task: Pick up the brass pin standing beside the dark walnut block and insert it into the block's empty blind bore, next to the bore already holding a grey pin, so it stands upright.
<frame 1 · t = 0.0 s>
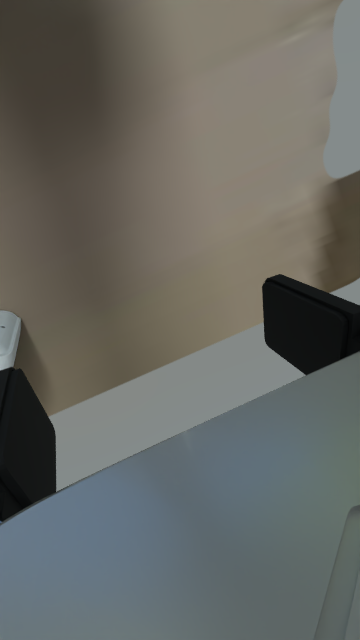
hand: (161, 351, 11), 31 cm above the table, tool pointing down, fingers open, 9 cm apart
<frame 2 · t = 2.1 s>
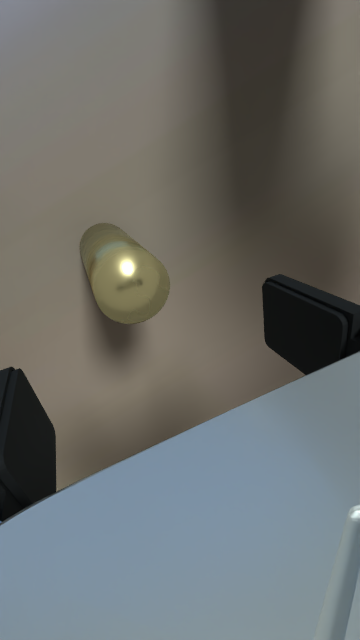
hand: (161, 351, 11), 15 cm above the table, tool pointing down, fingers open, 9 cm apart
brass pin: (105, 249, 24), on the table
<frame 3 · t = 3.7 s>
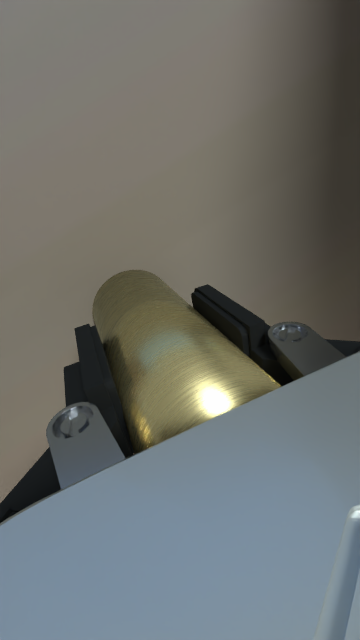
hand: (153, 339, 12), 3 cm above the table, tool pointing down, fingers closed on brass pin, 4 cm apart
brass pin: (134, 309, 15), on the table, touching gripper
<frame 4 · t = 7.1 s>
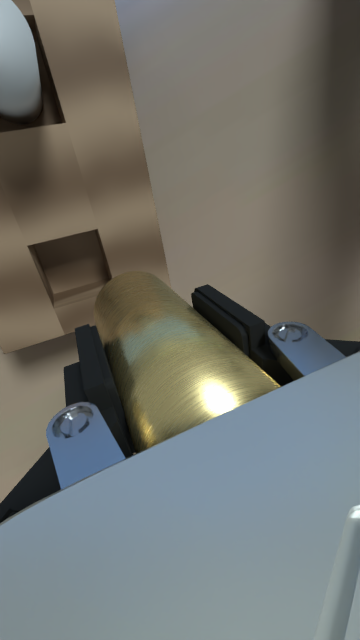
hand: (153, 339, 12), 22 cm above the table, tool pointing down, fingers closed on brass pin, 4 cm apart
brass pin: (135, 310, 15), point 19 cm above the table, touching gripper
bore block: (47, 186, 27), on the table
grey pin: (13, 93, 22), point 2 cm above the table, touching bore block
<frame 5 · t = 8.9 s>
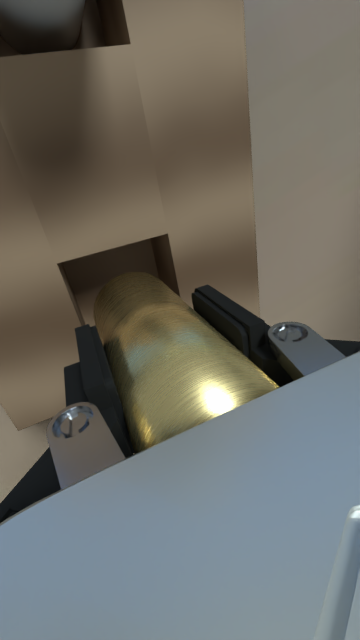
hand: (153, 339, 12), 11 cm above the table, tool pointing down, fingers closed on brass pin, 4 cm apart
brass pin: (134, 310, 15), point 7 cm above the table, touching gripper
bore block: (79, 168, 18), on the table
grey pin: (32, 2, 13), point 2 cm above the table, touching bore block
when the fingers open (7 cm above the table, at t = 10.6 s): brass pin drops 2 cm, resting on bore block.
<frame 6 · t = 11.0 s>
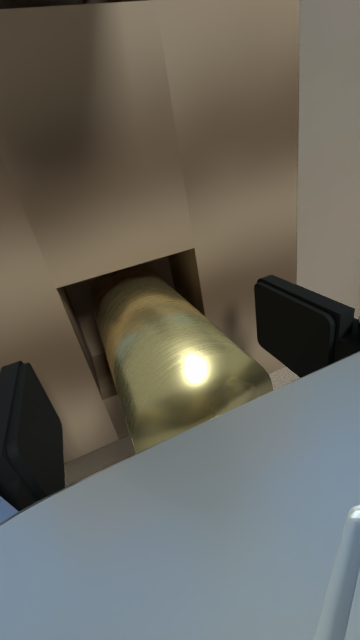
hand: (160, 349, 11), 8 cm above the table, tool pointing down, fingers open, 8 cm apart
brass pin: (128, 297, 16), point 2 cm above the table, touching bore block
bore block: (83, 168, 15), on the table
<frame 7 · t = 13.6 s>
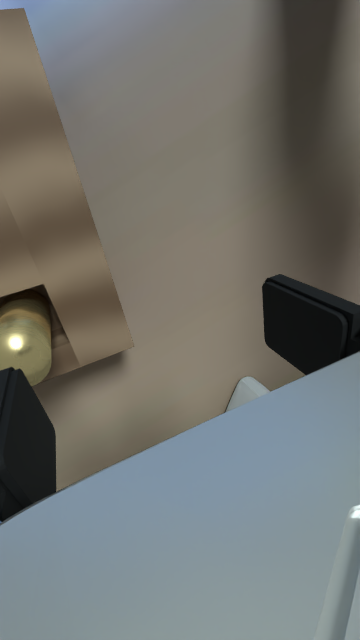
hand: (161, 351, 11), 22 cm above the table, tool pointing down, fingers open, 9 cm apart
brass pin: (26, 309, 27), point 2 cm above the table, touching bore block
photo printer: (236, 402, 46), on the table
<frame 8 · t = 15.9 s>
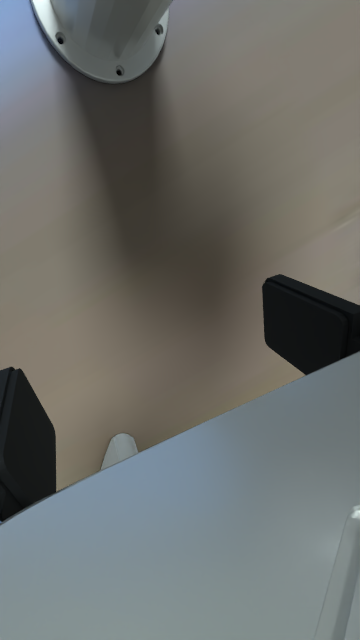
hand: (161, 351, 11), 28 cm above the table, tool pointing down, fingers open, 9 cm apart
photo printer: (115, 455, 51), on the table
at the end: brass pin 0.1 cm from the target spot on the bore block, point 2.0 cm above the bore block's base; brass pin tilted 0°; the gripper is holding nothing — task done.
